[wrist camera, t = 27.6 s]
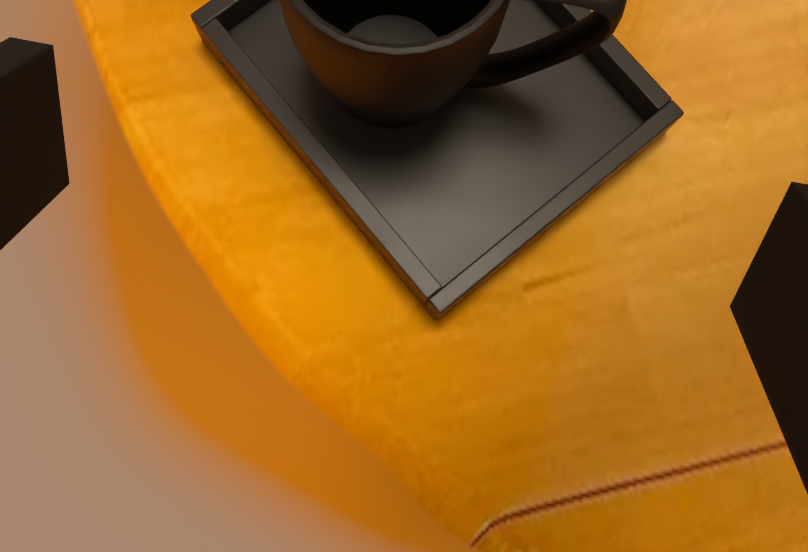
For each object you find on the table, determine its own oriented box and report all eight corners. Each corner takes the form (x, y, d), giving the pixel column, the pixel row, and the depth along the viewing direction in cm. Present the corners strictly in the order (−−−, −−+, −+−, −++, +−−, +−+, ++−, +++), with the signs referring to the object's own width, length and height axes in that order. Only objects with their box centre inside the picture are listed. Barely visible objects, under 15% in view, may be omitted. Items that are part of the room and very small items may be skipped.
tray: (665, 132, 34) (685, 112, 32) (435, 321, 32) (440, 314, 30) (430, -124, 36) (434, -160, 34) (201, 40, 34) (189, 14, 32)
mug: (547, 196, 33) (615, 108, 23) (277, 134, 33) (238, 22, 23) (581, 26, 34) (658, -121, 25) (323, -33, 34) (303, -200, 25)
